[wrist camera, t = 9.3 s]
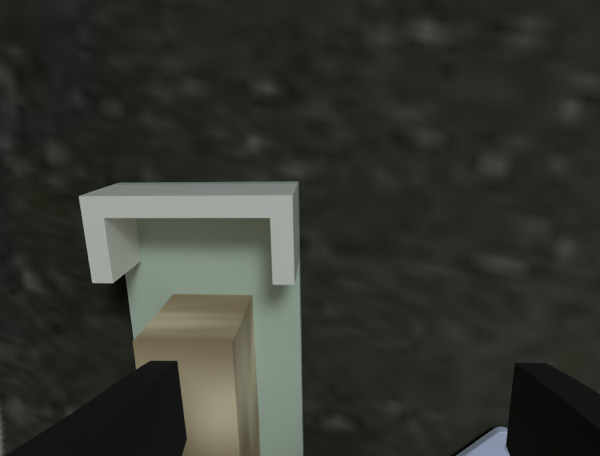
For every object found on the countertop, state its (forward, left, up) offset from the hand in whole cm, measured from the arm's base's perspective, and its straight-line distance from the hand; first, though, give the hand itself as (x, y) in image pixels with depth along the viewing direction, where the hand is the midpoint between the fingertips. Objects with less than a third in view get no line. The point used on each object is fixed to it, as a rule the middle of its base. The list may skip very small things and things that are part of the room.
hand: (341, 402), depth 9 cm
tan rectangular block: (-2, +9, -9) cm, 13 cm away
